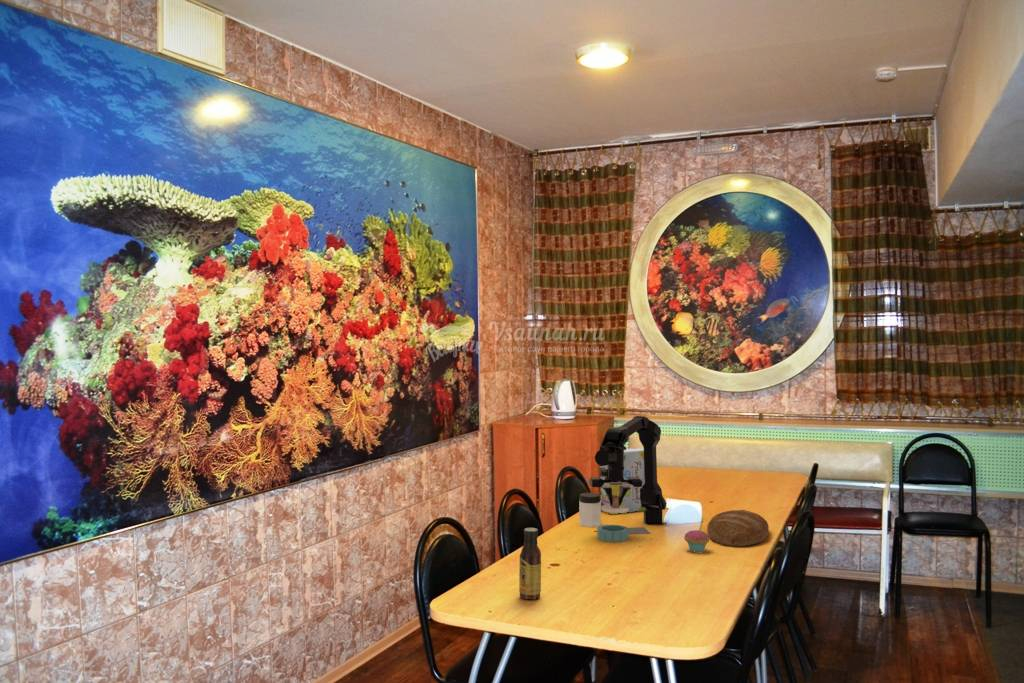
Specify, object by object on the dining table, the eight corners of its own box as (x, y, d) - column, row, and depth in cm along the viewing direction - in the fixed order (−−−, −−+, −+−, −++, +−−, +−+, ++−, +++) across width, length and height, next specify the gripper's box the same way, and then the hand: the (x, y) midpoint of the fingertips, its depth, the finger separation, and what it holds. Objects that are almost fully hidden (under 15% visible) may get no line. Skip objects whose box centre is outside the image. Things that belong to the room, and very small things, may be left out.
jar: (587, 528, 327) (587, 497, 327) (574, 524, 334) (574, 494, 334) (605, 525, 332) (605, 495, 332) (592, 521, 339) (592, 491, 339)
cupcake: (710, 549, 299) (710, 514, 298) (707, 555, 291) (708, 520, 290) (685, 546, 302) (686, 513, 301) (682, 552, 294) (682, 518, 293)
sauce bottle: (518, 594, 248) (518, 526, 248) (539, 593, 249) (539, 525, 248) (520, 601, 242) (520, 531, 241) (542, 601, 242) (542, 531, 242)
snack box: (642, 506, 368) (642, 447, 367) (653, 510, 360) (654, 449, 359) (598, 511, 358) (599, 450, 358) (610, 515, 350) (610, 453, 350)
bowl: (623, 534, 318) (623, 524, 318) (631, 542, 307) (631, 531, 307) (594, 535, 317) (594, 525, 316) (601, 543, 305) (601, 532, 305)
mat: (643, 528, 329) (643, 527, 329) (651, 534, 319) (651, 533, 319) (618, 528, 327) (618, 527, 327) (625, 535, 317) (625, 534, 317)
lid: (624, 507, 318) (625, 493, 318) (632, 513, 308) (632, 498, 308) (598, 507, 317) (598, 493, 317) (605, 513, 307) (605, 499, 307)
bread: (772, 527, 332) (772, 505, 332) (764, 551, 298) (765, 527, 297) (714, 522, 340) (714, 501, 340) (701, 545, 305) (701, 521, 305)
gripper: (634, 459, 322) (633, 501, 322) (586, 460, 319) (585, 501, 319) (643, 464, 311) (642, 507, 311) (592, 464, 308) (592, 507, 308)
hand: (615, 505), depth 312 cm, fingers closed on lid, 3 cm apart
